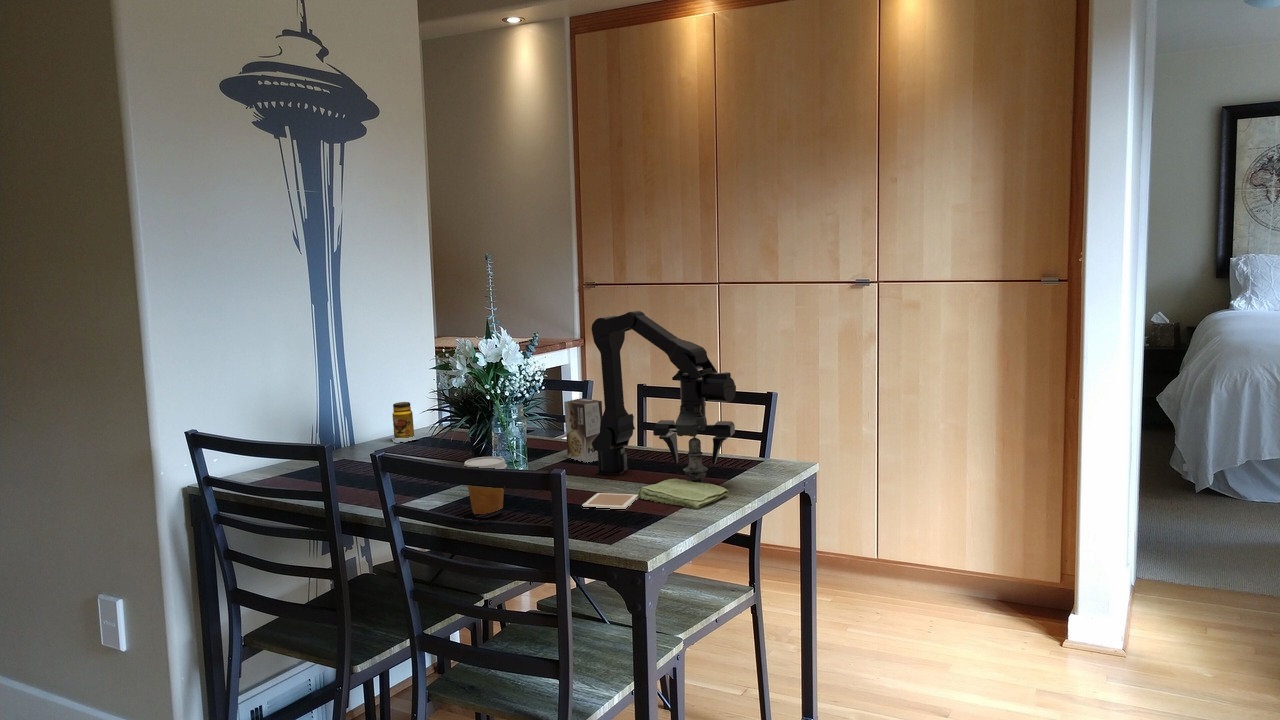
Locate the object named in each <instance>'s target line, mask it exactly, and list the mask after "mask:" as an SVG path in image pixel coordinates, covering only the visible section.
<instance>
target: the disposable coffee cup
mask: <svg viewBox="0 0 1280 720" xmlns="http://www.w3.org/2000/svg"><path fill="white" fill-rule="evenodd" d="M464 466H467V467H479V468H495V469H507V468H508V464H507V463H506V460H505V459H504V457H500V456H481V457H474V458H470V459H467V460H466V461H464V465H463V467H464ZM467 489H468V495H469V501H470V504H471V511H472V514H473V513H474V514H486V513H491V512H495V511H498V510H500V509H502V508H503V509H504V495H505V493H504V492H505V488H504V489H503V488H488V487H477V486H470V485H467Z"/></svg>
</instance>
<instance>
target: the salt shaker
mask: <svg viewBox="0 0 1280 720" xmlns="http://www.w3.org/2000/svg"><path fill="white" fill-rule="evenodd" d="M701 443H702V442H701V440H700V439H699V438H697V437H696V436H693V437H692V438H690V439H689V440H688V452H687V455H688V463H687V464H688V465H687V466H686V467H684V468H683V469H682V470H683V472H684V475H685V477H686V478H687V479H688V480H687V481H691V482H696V483H697V482H698V483H706V484H708V482H707V481H706V480H704V478H705V477H706V475H707V471H708V470H709V469H708V467H707V466H704V465H703V463H702V461H703V460H702V456H703V452H702V447H701V446H702V445H701Z"/></svg>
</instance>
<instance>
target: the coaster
mask: <svg viewBox="0 0 1280 720" xmlns="http://www.w3.org/2000/svg"><path fill="white" fill-rule="evenodd" d="M638 499H640V497H639V496H638V494H628V493H627V494H626V493H609V492H608V493H607V492H597V493H595V494H594V495H593V496H592V497H590V498H589V499H587V500H586V502H584V503H583V504H582V505H581V507H582V506H583V507H596V508H610V509H626V508H627V507H628V506H629V507H631V505H633V504H632V503H633V502H634V501H635V500H636V501H637V500H638ZM636 501H635V502H636ZM635 502H634V503H635ZM629 507H628V508H629ZM628 508H627V509H628ZM610 509H609V510H610ZM627 509H626V510H627Z"/></svg>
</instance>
